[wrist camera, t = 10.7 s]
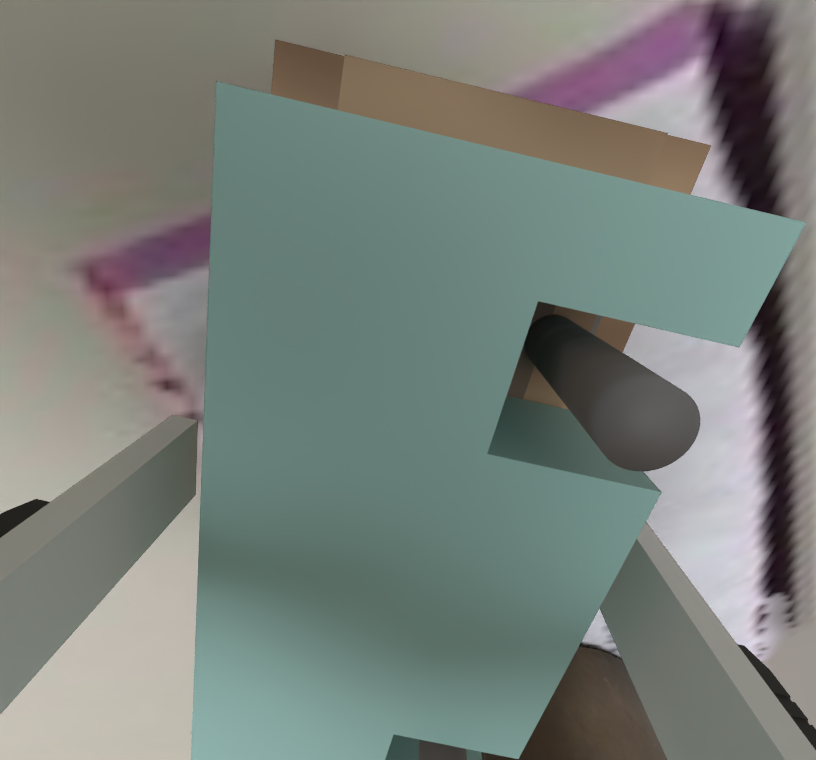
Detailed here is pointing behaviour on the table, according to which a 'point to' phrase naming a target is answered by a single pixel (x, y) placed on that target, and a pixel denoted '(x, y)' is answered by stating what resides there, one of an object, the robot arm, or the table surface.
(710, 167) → the table surface
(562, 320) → the brown piece
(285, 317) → the mint green notched block
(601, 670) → the pillar candle
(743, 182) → the table surface
